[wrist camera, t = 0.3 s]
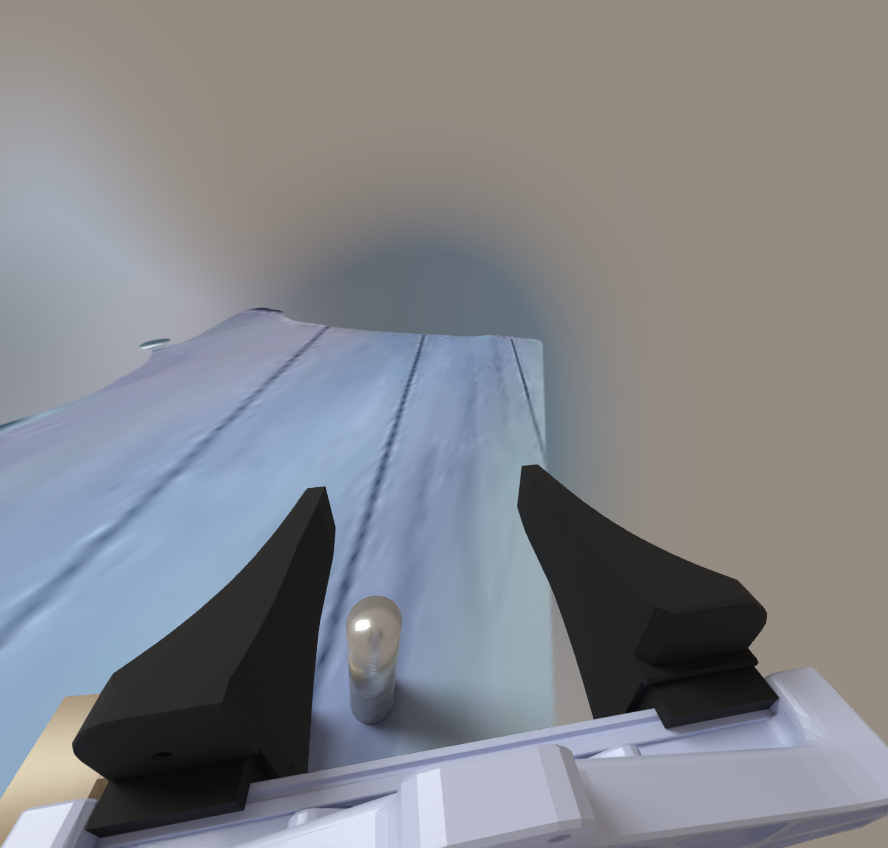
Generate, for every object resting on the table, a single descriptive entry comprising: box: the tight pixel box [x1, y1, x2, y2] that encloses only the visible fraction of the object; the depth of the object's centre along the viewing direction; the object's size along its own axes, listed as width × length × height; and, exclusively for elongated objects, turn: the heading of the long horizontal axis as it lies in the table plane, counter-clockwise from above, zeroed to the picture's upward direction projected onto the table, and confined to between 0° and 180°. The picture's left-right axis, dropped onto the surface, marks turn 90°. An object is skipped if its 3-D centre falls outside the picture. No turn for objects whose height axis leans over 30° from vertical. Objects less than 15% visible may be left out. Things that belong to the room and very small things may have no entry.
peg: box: [346, 596, 402, 724], centre depth 23 cm, size 3×3×10 cm
